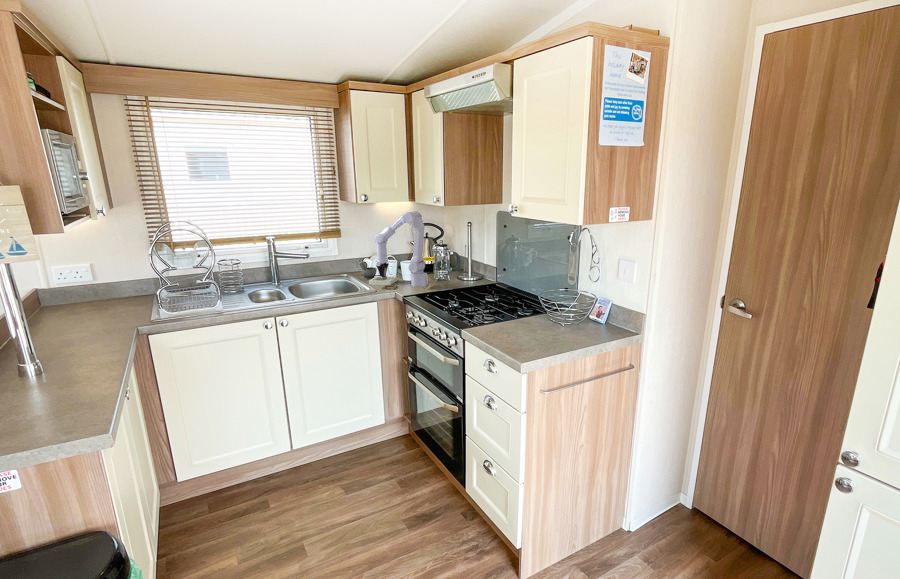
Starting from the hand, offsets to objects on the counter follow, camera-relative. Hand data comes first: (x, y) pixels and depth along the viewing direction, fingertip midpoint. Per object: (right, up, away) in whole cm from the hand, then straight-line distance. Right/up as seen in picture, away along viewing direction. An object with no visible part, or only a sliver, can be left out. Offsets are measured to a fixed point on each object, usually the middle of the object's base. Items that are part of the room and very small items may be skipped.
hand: (383, 275), depth 267 cm
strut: (0, -2, 0) cm, 2 cm away
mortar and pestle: (-12, -2, +17) cm, 21 cm away
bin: (0, -5, +1) cm, 5 cm away
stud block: (+6, -9, -14) cm, 17 cm away
